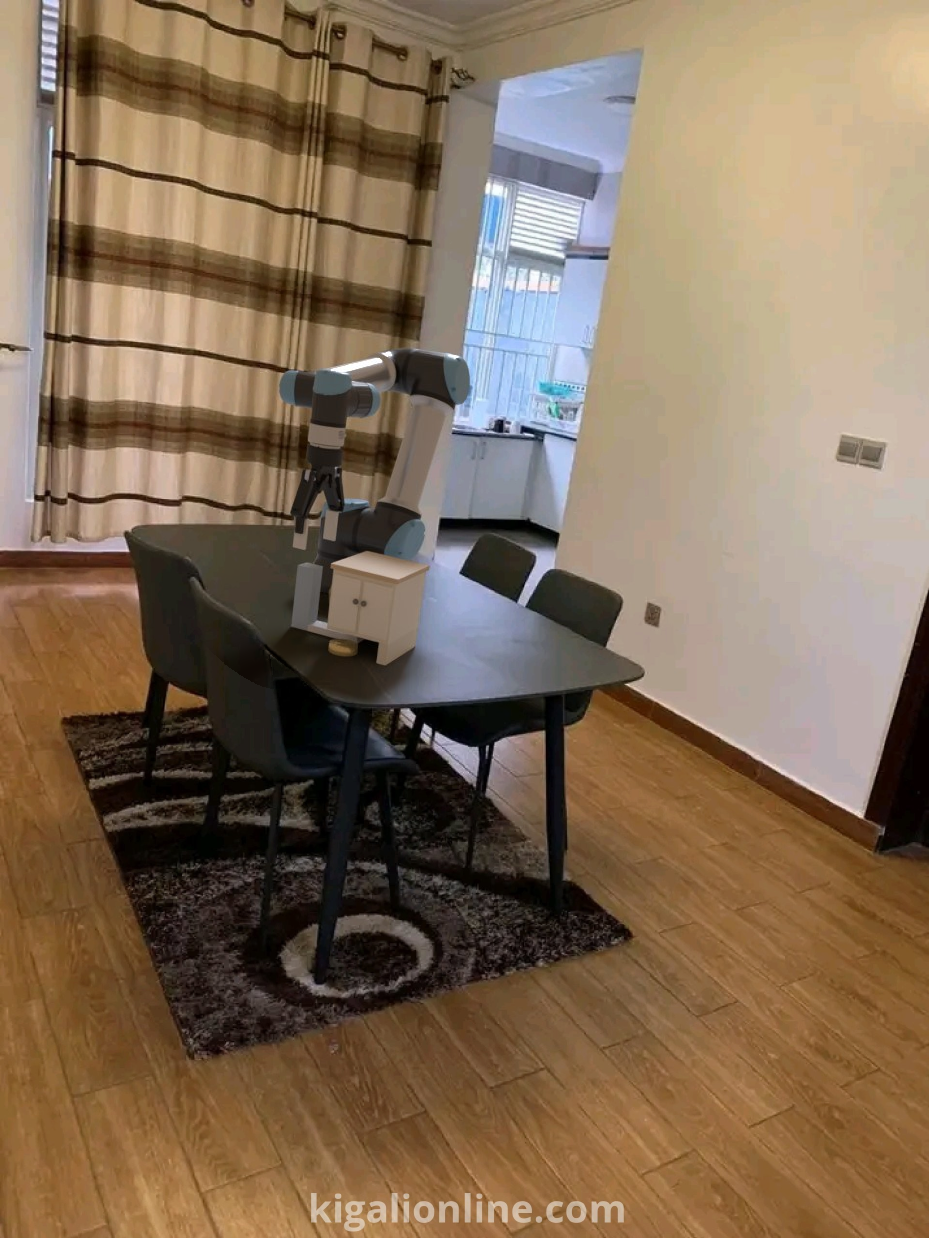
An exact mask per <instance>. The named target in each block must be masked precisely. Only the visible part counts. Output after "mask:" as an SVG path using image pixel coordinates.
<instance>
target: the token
mask: <svg viewBox="0 0 929 1238" xmlns="http://www.w3.org/2000/svg"><path fill="white" fill-rule="evenodd" d="M358 647H359V643H356V642H354V641H351V640H347V639H336V638H332V639H331V640H329V643H328V652H329V653H330V654H332V655H334V656H338V657H345V658H347V657H355V656H357V654H358V649H359V648H358Z"/></svg>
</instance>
